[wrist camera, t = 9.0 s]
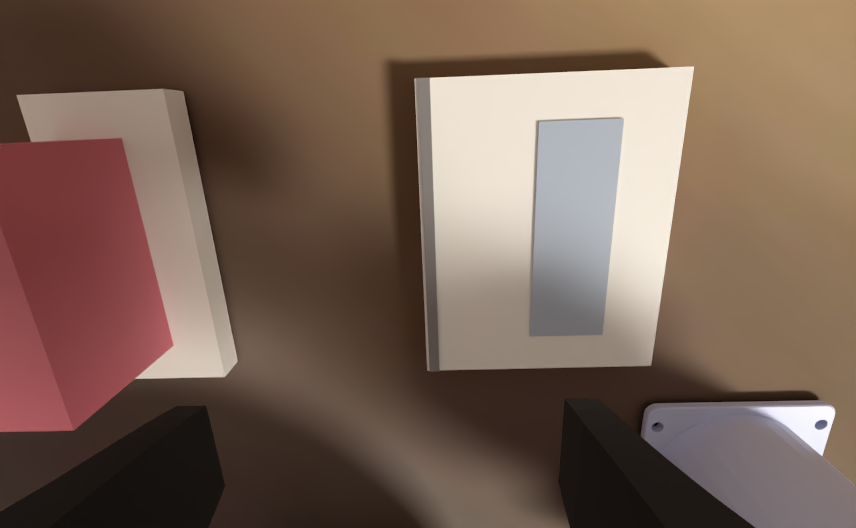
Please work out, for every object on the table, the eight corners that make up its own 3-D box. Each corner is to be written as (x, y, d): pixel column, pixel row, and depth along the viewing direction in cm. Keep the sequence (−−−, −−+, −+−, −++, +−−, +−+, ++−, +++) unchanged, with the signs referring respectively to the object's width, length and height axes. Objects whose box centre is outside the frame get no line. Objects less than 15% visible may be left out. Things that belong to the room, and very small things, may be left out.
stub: (237, 361, 19) (146, 470, 13) (125, 364, 19) (-15, 473, 13) (183, 91, 15) (25, 72, 9) (47, 96, 16) (-191, 82, 10)
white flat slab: (637, 350, 18) (652, 367, 17) (427, 355, 19) (427, 372, 17) (674, 70, 15) (695, 66, 14) (416, 81, 15) (414, 78, 14)
